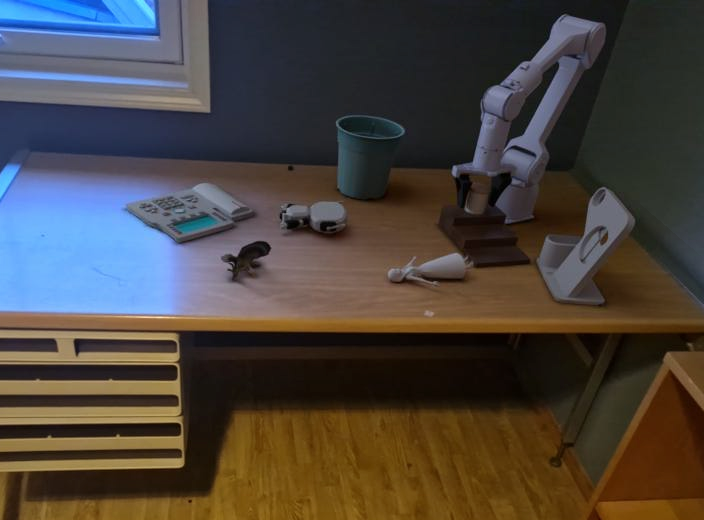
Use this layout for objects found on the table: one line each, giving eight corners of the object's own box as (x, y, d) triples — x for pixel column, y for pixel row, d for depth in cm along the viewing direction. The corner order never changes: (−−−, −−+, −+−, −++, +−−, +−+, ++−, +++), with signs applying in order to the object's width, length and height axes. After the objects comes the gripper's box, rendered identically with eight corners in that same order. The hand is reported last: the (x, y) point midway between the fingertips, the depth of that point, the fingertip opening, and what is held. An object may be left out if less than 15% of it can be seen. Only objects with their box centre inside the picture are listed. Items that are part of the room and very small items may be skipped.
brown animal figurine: (258, 284, 125) (279, 256, 130) (237, 253, 122) (260, 226, 127) (230, 290, 130) (252, 264, 135) (210, 261, 127) (233, 235, 132)
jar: (475, 204, 152) (481, 181, 149) (489, 212, 149) (495, 189, 146) (459, 207, 150) (465, 184, 147) (473, 216, 147) (479, 192, 144)
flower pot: (369, 173, 175) (377, 111, 165) (407, 198, 164) (419, 133, 154) (316, 182, 168) (322, 118, 158) (353, 208, 157) (361, 141, 147)
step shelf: (437, 225, 154) (442, 205, 150) (487, 222, 157) (493, 202, 154) (475, 267, 139) (481, 246, 136) (529, 263, 142) (536, 242, 139)
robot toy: (278, 240, 143) (347, 241, 143) (277, 221, 140) (348, 221, 140) (280, 215, 153) (345, 216, 153) (280, 197, 150) (346, 197, 150)
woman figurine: (485, 268, 129) (400, 281, 125) (481, 287, 132) (398, 300, 128) (458, 240, 138) (378, 251, 134) (455, 258, 141) (376, 270, 137)
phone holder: (534, 258, 144) (560, 180, 133) (580, 262, 144) (609, 184, 133) (555, 302, 130) (586, 218, 119) (606, 306, 130) (641, 222, 119)
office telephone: (211, 177, 159) (263, 208, 148) (211, 188, 160) (262, 219, 149) (124, 198, 146) (174, 233, 135) (125, 209, 147) (174, 245, 136)
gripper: (468, 154, 136) (453, 214, 144) (530, 152, 139) (512, 212, 148) (453, 141, 141) (440, 201, 149) (513, 140, 145) (497, 198, 153)
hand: (475, 205), depth 149 cm, fingers open, 7 cm apart
